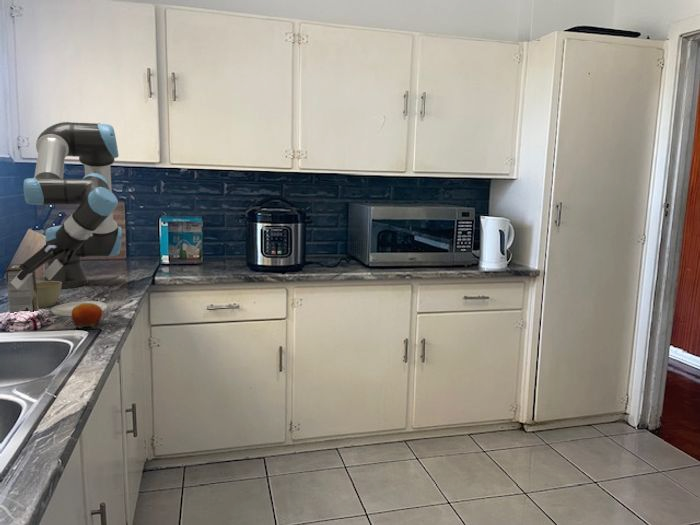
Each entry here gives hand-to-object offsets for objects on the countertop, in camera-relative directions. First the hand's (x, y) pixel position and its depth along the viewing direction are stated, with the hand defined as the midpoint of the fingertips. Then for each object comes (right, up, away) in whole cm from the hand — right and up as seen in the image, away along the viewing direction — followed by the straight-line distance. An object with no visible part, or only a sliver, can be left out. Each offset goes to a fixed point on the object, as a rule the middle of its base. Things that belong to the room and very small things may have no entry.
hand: (31, 281), depth 161 cm
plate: (+7, -10, +14) cm, 19 cm away
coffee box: (-4, -12, +4) cm, 13 cm away
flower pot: (-7, -9, +20) cm, 23 cm away
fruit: (+18, -13, -3) cm, 23 cm away
